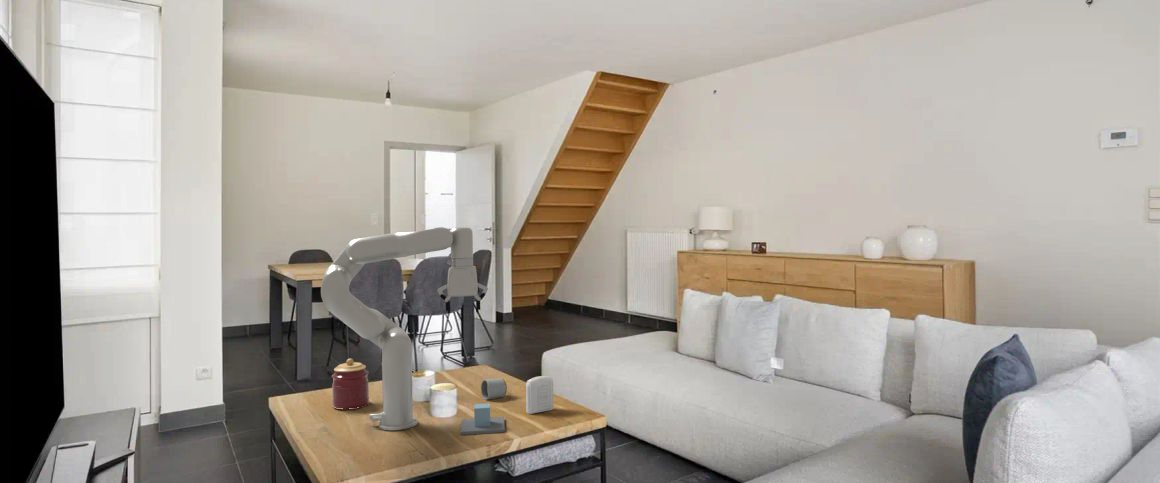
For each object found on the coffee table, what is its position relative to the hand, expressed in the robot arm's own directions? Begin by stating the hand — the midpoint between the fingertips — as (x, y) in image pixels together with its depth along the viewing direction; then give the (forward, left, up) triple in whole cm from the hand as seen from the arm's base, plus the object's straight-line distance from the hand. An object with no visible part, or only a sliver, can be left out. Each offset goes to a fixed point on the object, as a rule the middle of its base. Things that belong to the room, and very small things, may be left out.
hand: (463, 312), depth 217 cm
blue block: (+6, -13, -35) cm, 38 cm away
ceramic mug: (+9, +23, -37) cm, 44 cm away
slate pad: (+6, -13, -36) cm, 39 cm away
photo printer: (+26, +1, -36) cm, 45 cm away
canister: (-43, +23, -36) cm, 61 cm away
